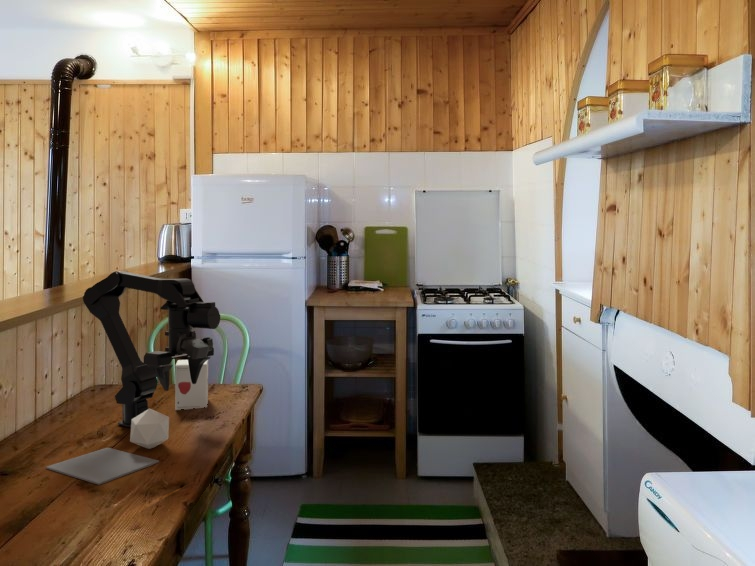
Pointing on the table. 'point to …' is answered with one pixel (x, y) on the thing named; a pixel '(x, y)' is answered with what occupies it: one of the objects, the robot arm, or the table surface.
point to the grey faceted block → (149, 429)
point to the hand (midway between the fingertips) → (180, 387)
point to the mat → (102, 465)
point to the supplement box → (190, 387)
